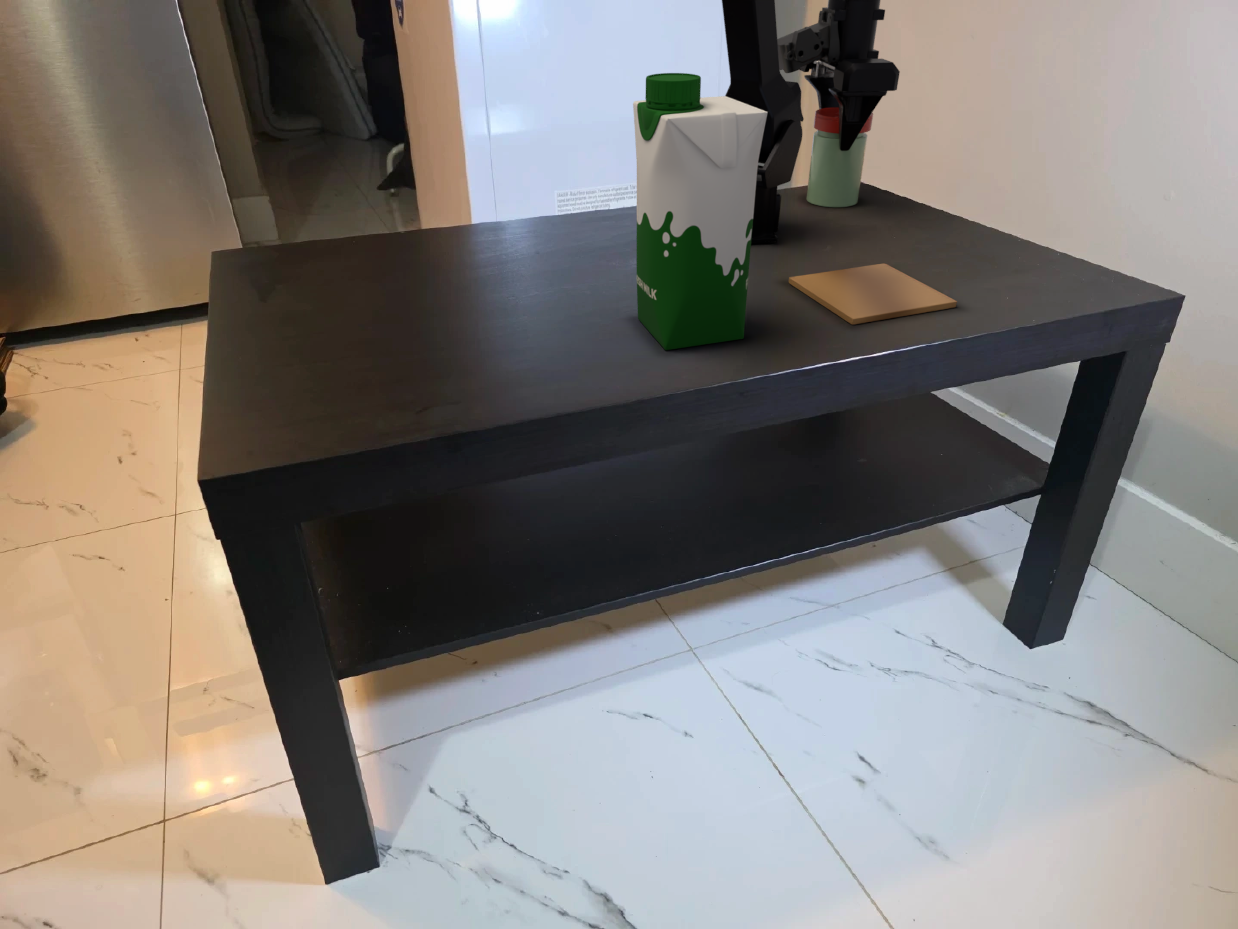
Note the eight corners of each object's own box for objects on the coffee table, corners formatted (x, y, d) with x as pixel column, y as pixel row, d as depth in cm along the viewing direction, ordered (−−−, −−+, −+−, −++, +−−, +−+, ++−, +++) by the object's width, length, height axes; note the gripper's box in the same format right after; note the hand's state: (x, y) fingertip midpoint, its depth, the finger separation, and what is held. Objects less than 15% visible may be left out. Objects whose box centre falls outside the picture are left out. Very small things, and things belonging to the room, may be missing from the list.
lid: (807, 122, 102) (809, 107, 101) (860, 121, 102) (863, 106, 101) (821, 134, 96) (824, 118, 95) (878, 133, 96) (881, 117, 95)
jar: (858, 208, 100) (870, 126, 95) (805, 205, 101) (814, 124, 96) (857, 194, 106) (868, 116, 100) (806, 192, 107) (815, 115, 102)
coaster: (852, 325, 71) (853, 318, 70) (788, 282, 79) (788, 276, 79) (956, 307, 74) (957, 301, 73) (883, 268, 82) (884, 262, 82)
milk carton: (624, 316, 73) (623, 70, 62) (717, 304, 75) (732, 64, 64) (658, 357, 66) (663, 87, 55) (760, 341, 68) (784, 79, 57)
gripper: (764, -6, 99) (754, 130, 107) (807, 4, 83) (790, 163, 91) (854, -7, 99) (836, 128, 108) (913, 3, 84) (887, 161, 92)
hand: (835, 144), depth 100 cm, fingers closed on lid, 6 cm apart
